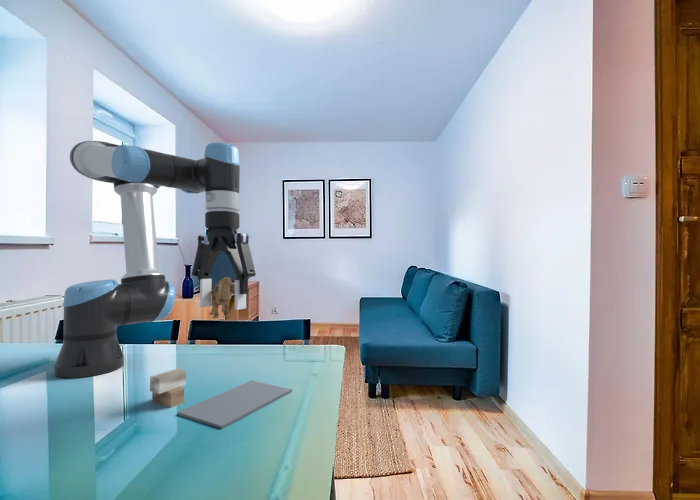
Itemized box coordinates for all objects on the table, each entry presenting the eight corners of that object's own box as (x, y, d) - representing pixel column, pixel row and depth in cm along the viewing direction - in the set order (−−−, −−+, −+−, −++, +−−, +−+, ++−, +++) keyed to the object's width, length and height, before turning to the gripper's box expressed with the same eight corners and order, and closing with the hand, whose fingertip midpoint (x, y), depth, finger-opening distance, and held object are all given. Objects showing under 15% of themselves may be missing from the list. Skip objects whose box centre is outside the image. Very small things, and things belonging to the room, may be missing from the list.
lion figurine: (241, 317, 81) (240, 276, 81) (216, 320, 78) (215, 278, 78) (223, 311, 93) (223, 276, 93) (201, 313, 90) (201, 277, 90)
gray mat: (177, 414, 70) (177, 411, 70) (251, 382, 87) (251, 380, 87) (221, 428, 64) (221, 426, 64) (291, 391, 82) (291, 389, 82)
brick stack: (145, 404, 75) (145, 375, 75) (171, 394, 80) (172, 367, 80) (164, 410, 72) (164, 380, 72) (190, 400, 77) (190, 371, 77)
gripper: (175, 213, 86) (175, 306, 86) (248, 206, 76) (248, 312, 75) (201, 216, 93) (201, 303, 93) (271, 210, 82) (272, 308, 82)
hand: (222, 307), depth 84 cm, fingers closed on lion figurine, 10 cm apart
